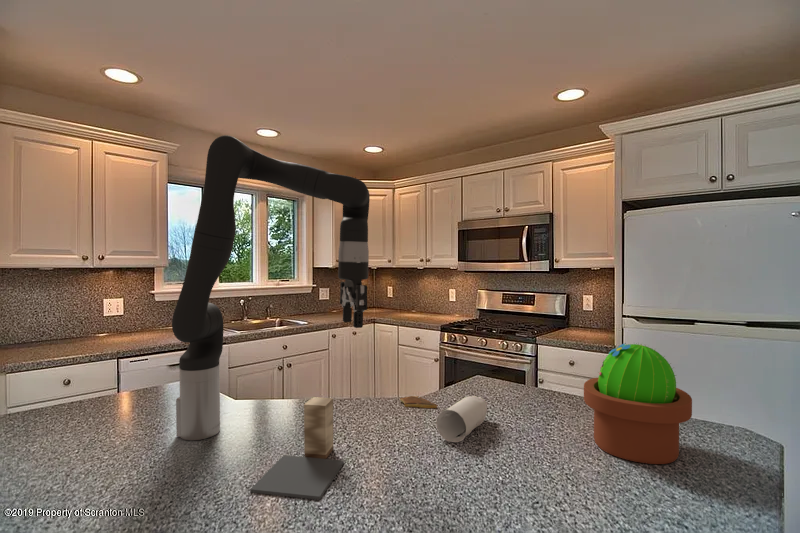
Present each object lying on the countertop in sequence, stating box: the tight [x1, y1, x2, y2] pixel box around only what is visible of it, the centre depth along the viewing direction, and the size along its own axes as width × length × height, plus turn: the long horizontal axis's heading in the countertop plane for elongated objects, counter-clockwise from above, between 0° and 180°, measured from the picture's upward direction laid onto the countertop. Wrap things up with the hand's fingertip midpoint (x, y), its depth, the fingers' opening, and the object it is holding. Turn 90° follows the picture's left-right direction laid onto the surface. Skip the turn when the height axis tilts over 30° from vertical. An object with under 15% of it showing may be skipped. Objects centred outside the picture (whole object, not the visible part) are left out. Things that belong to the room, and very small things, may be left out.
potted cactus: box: [583, 342, 693, 465], centre depth 98 cm, size 22×22×25 cm
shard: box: [399, 395, 439, 409], centre depth 126 cm, size 11×8×2 cm
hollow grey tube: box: [435, 395, 489, 443], centre depth 108 cm, size 8×19×8 cm, turn 146°
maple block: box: [303, 396, 334, 459], centre depth 95 cm, size 5×5×12 cm
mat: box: [249, 454, 345, 501], centre depth 85 cm, size 14×14×1 cm
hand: (352, 324), depth 105 cm, fingers open, 8 cm apart
